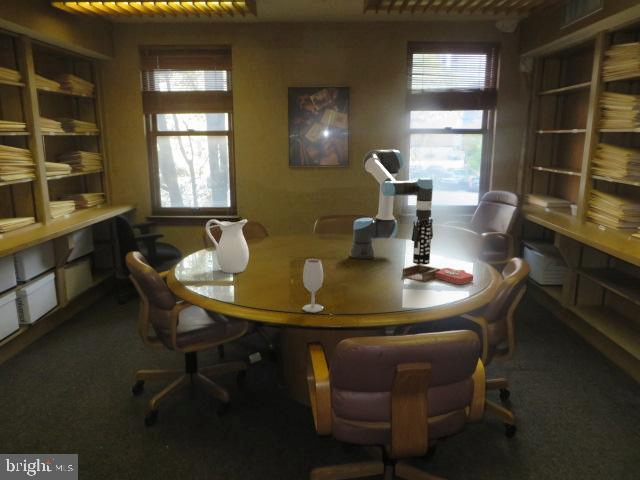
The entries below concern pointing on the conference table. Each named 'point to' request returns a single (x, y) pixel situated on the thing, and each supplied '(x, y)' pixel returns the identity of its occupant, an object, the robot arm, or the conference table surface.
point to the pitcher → (231, 246)
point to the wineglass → (313, 282)
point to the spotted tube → (423, 245)
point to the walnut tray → (419, 272)
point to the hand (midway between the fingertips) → (421, 252)
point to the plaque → (454, 275)
